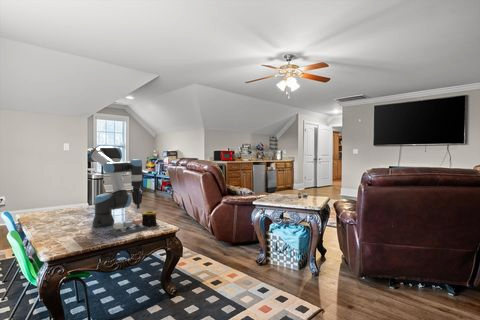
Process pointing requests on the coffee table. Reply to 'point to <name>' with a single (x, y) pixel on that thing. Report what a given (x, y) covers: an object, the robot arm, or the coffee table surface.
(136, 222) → the key coral
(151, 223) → the candle
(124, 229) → the keypad base
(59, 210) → the coffee table surface
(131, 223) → the key slate
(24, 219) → the coffee table surface
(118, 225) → the key ivory
